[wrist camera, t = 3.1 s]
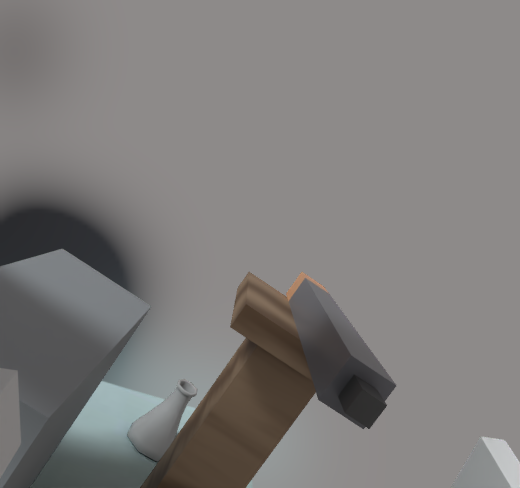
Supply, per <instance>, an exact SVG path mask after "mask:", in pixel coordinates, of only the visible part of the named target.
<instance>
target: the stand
mask: <svg viewBox="0 0 520 488" xmlns="http://www.w3.org/2000/svg"><path fill="white" fill-rule="evenodd" d="M230 327H231V328H233V329H234V330H236V331H237V332H238V333H240V334H242V335H243V336H245V337H246V339H245V340H244V341H243V343H242V344H241V346H240V347H239V348H238V350H237V351H236V353H235V354H234V356H233V357H232V358H231V360H230V361H229V363H228V364H227V366H226V367H225V369H224V370H223V371H222V373H221V374H220V375H219V377H218V378H217V380H216V381H215V383H214V384H213V385H212V387H211V388H210V390H209V391H208V392H207V394H206V395H205V397H204V398H203V400H202V401H201V402H200V404H199V405H198V407H197V408H196V409H195V411H194V412H193V414H192V415H191V417H190V418H189V419H188V421H187V422H186V424H185V425H184V426H183V428H182V429H181V431H180V432H179V434H178V435H177V436H176V438H175V439H174V441H173V442H172V443H171V445H170V446H169V448H168V449H167V451H166V452H165V453H164V455H163V456H162V458H161V459H160V461H159V462H158V463H157V465H156V466H155V468H154V469H153V470H152V472H151V473H150V475H149V476H148V478H147V479H146V480H145V482H144V483H143V485H142V486H141V487H140V488H246V486H247V485H248V484H249V482H250V481H251V480H252V478H253V477H254V475H255V474H256V473H257V471H258V470H259V469H260V467H261V466H262V464H263V463H264V462H265V461H266V459H267V458H268V456H269V455H270V454H271V452H272V451H273V449H274V448H275V447H276V446H277V444H278V443H279V442H280V440H281V439H282V437H283V436H284V435H285V433H286V432H287V431H288V429H289V428H290V427H291V425H292V424H293V422H294V421H295V420H296V418H297V417H298V416H299V414H300V413H301V412H302V410H303V409H304V408H305V406H306V405H307V403H308V402H309V401H310V399H311V398H312V397H313V395H314V394H315V393H316V390H315V387H314V383H313V380H312V377H311V374H310V370H309V367H308V364H307V360H306V357H305V354H304V351H303V347H302V344H301V341H300V338H299V334H298V331H297V328H296V324H295V321H294V318H293V315H292V311H291V308H290V305H289V301H288V298H287V297H286V296H284V295H283V294H281V293H280V292H278V291H277V290H275V289H274V288H273V287H271V286H270V285H268V284H267V283H265V282H264V281H262V280H261V279H259V278H258V277H256V276H254V275H253V274H252V273H250V272H248V274H247V275H246V277H245V278H244V280H243V281H242V283H241V284H240V285H239V287H238V289H237V295H236V300H235V305H234V310H233V315H232V321H231V326H230Z"/></svg>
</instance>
